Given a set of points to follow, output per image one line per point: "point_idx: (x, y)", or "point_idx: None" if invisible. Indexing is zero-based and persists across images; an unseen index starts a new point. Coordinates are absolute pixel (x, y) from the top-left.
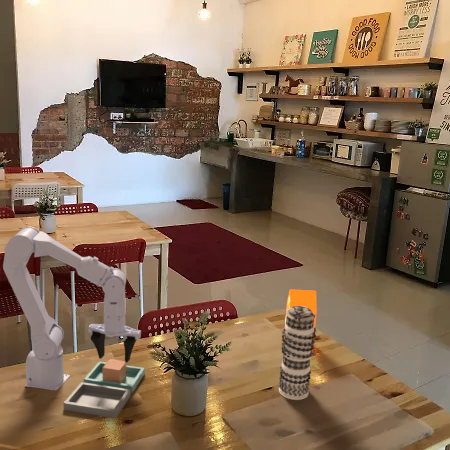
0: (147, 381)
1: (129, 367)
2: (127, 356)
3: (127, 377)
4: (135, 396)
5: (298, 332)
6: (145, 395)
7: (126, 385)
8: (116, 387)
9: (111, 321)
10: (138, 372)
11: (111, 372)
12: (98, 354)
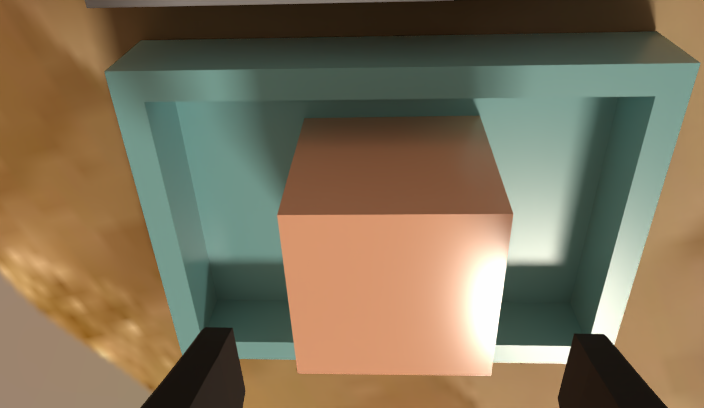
0: (140, 249)
1: None
2: (154, 396)
3: None
4: (98, 21)
5: None
6: (26, 62)
7: (172, 72)
8: (254, 1)
9: None
10: (233, 314)
11: (387, 188)
12: (636, 376)
